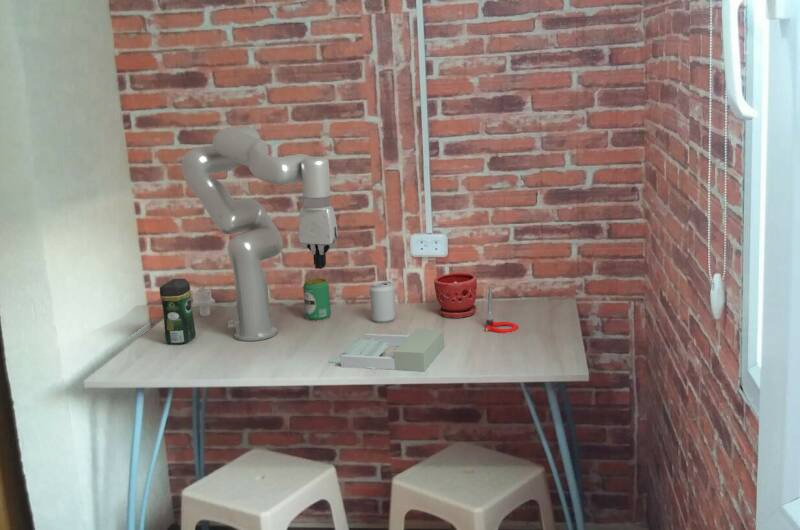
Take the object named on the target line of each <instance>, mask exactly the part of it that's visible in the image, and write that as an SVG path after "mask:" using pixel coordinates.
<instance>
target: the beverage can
mask: <svg viewBox="0 0 800 530" xmlns="http://www.w3.org/2000/svg"><path fill="white" fill-rule="evenodd" d="M329 285H330V284H329V283H328V281H327V279H325V278H311V279H306V280H305V281H304V284H303V287H302V288H303V299H304V312H305V313H304V314H305V318H306V319H307V320H308V319H309V320H308V321H310V320H316V321H315V322H318V321H317V320H322V321H325V320H324V319H326V320H328V319H329V318H330V316H331V314H332V311H331V300H330V286H329ZM327 318H328V319H327Z"/></svg>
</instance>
